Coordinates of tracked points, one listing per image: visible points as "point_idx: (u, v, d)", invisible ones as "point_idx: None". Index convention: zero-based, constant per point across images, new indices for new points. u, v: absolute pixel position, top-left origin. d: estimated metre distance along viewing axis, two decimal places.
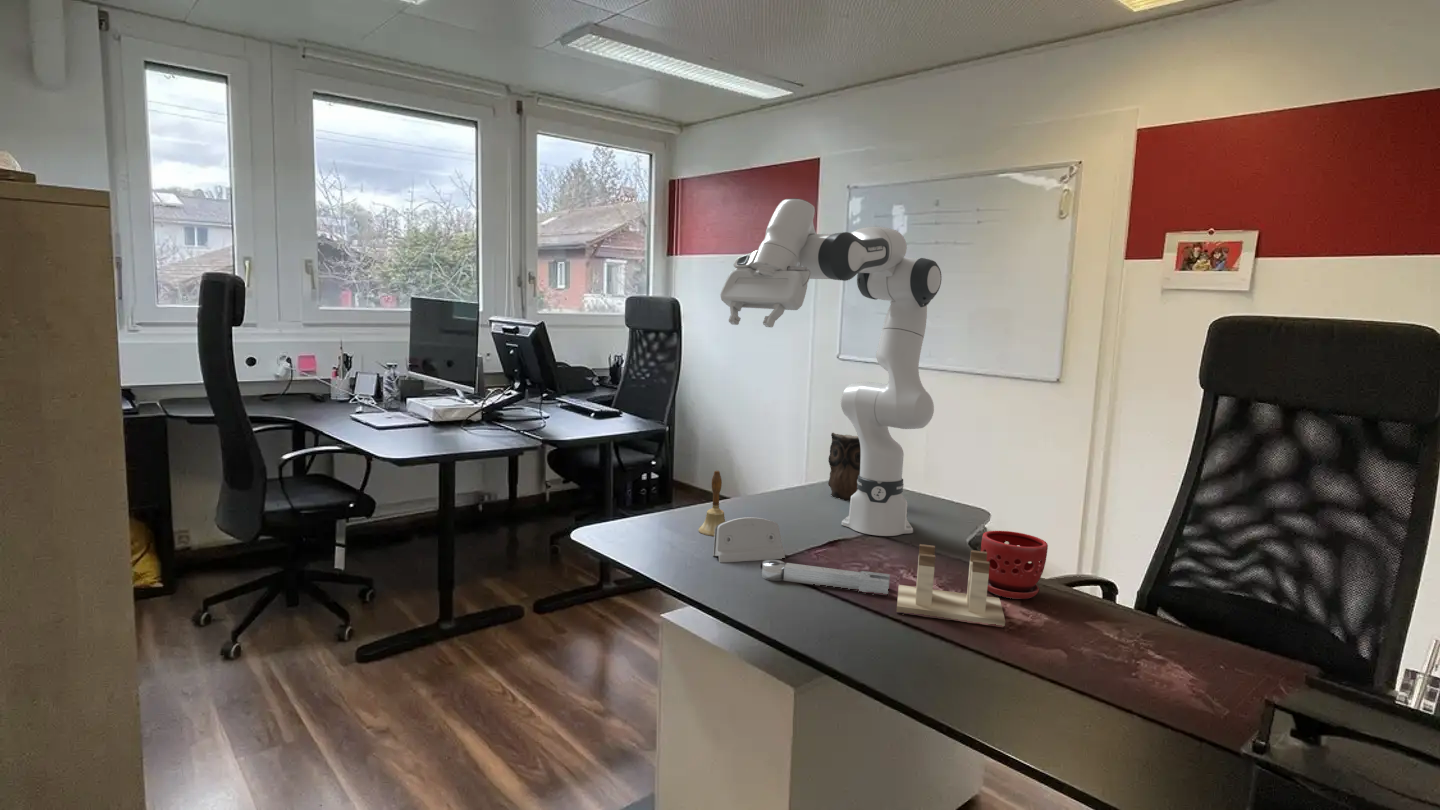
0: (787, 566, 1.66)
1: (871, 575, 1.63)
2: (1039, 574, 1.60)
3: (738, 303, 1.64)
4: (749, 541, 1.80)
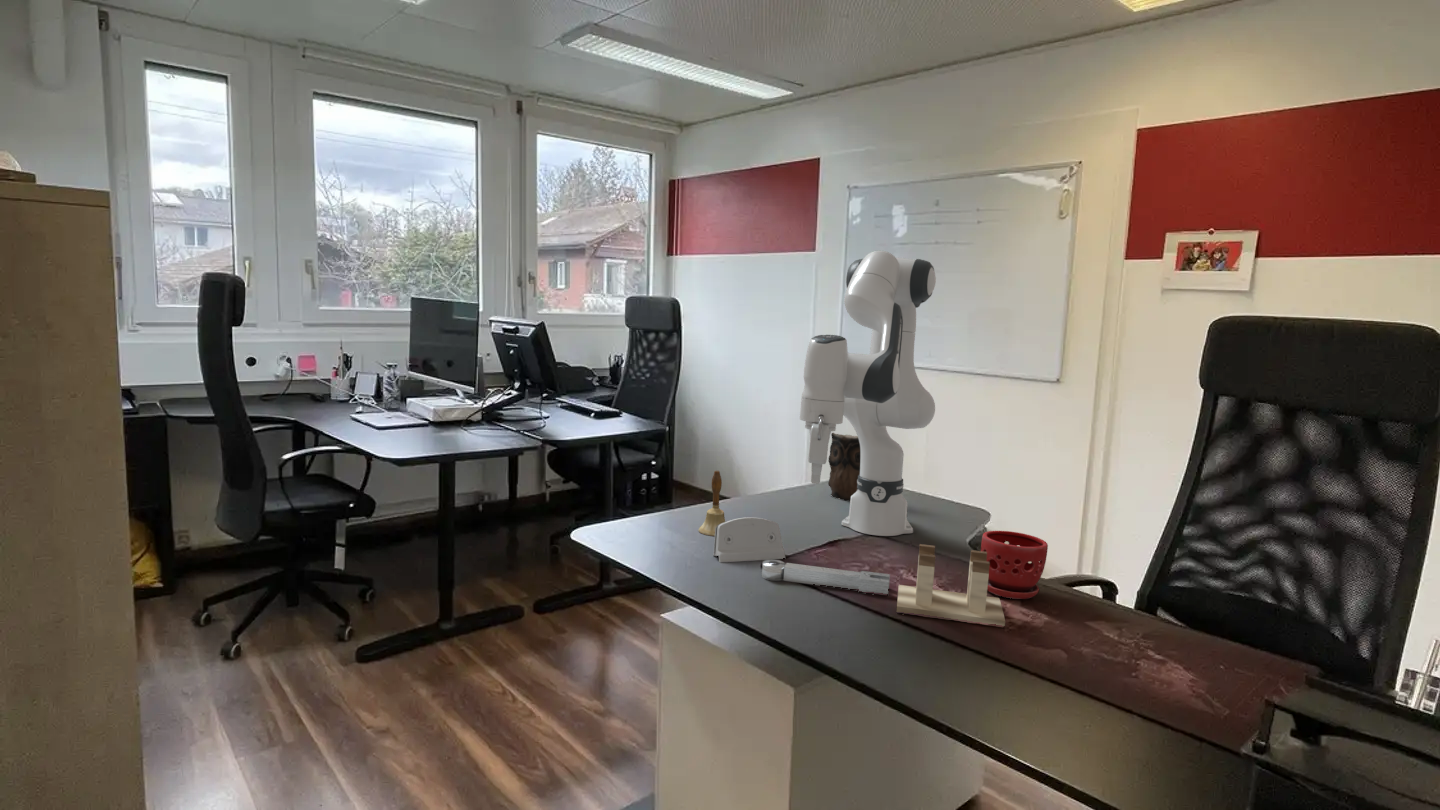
0: (787, 566, 1.66)
1: (871, 575, 1.63)
2: (1039, 574, 1.60)
3: None
4: (749, 541, 1.80)
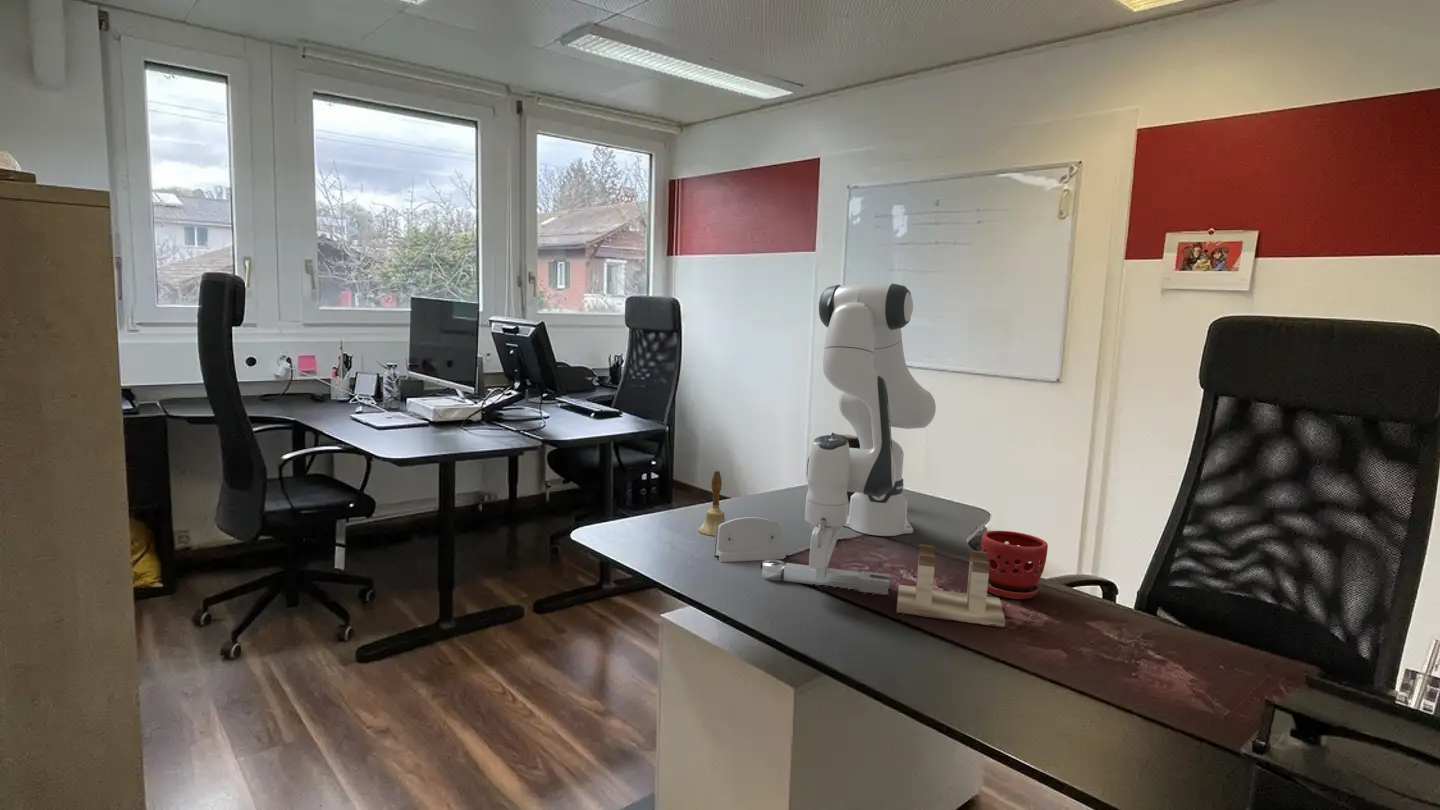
0: (787, 566, 1.66)
1: (871, 575, 1.63)
2: (1039, 574, 1.60)
3: None
4: (750, 541, 1.80)
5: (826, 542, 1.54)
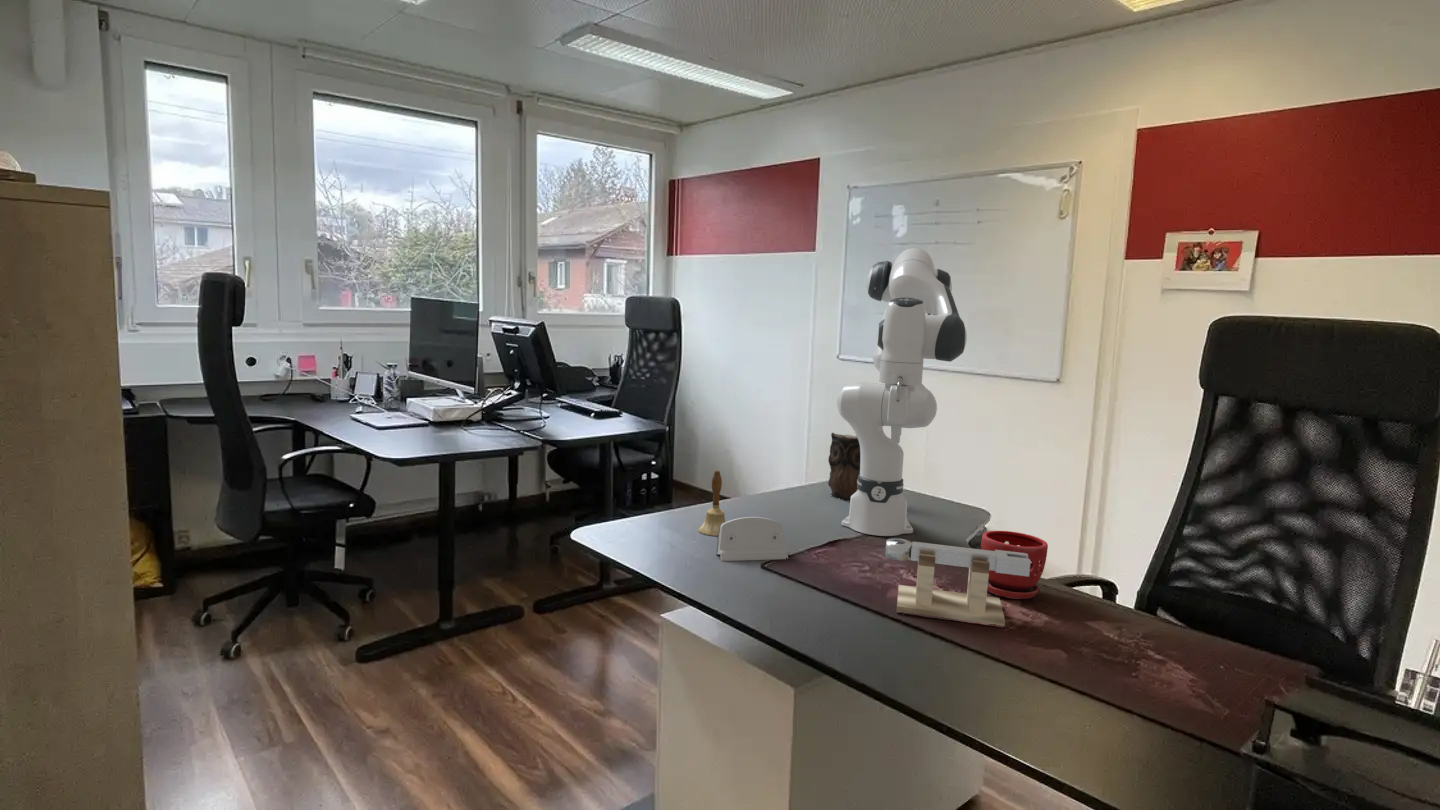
0: (914, 545, 1.54)
1: (1007, 554, 1.51)
2: (1039, 574, 1.60)
3: None
4: (752, 540, 1.80)
5: (905, 396, 1.55)
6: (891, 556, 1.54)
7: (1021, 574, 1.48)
